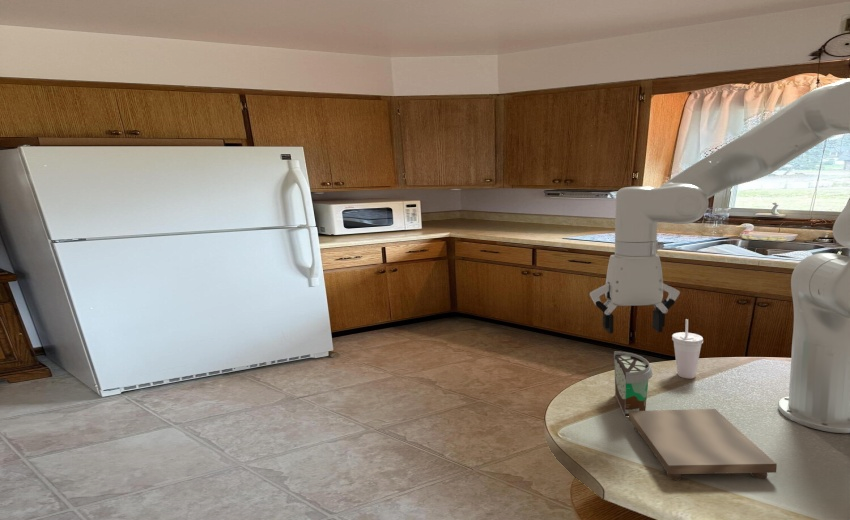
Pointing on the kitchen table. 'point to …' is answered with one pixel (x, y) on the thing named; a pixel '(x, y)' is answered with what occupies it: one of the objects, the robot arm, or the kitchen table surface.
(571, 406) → the kitchen table surface
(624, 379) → the food container
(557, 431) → the kitchen table surface
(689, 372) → the smoothie
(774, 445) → the kitchen table surface
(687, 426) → the tan square plate
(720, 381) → the kitchen table surface
